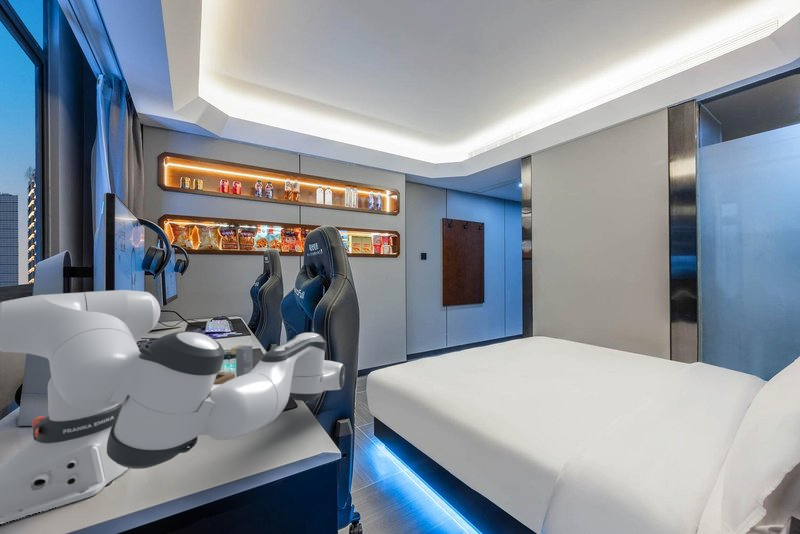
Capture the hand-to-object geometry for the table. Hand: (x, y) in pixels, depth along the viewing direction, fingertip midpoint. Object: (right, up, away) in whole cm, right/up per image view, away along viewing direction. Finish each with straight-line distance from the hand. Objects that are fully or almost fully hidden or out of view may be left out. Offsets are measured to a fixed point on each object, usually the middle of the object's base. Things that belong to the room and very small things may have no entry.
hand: (259, 370), depth 103 cm
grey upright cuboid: (-5, -10, +1) cm, 11 cm away
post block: (-18, -10, +4) cm, 21 cm away
